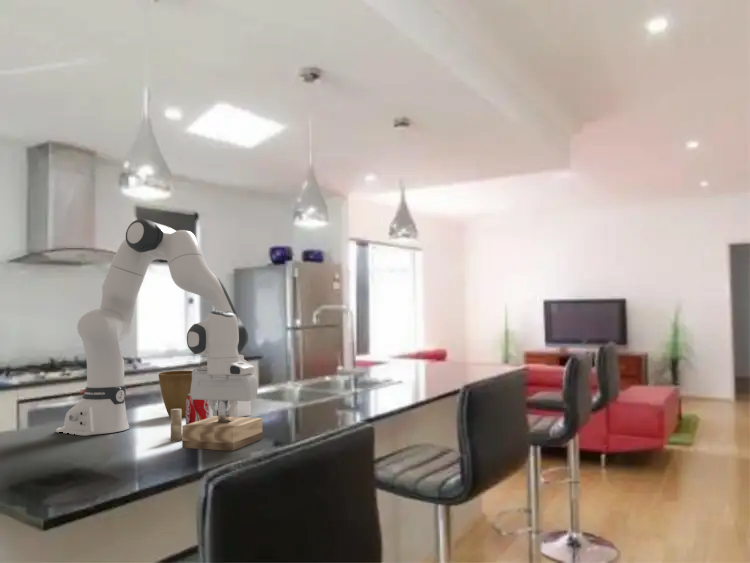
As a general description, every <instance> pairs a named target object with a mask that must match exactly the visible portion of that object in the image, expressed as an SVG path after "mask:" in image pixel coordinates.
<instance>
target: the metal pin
mask: <svg viewBox="0 0 750 563" xmlns="http://www.w3.org/2000/svg"><path fill="white" fill-rule="evenodd" d="M217 407H218V423H229V417H227V416H226V410H229V401H224V400H217Z"/></svg>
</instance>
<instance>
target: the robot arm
mask: <svg viewBox="0 0 750 563" xmlns="http://www.w3.org/2000/svg"><path fill="white" fill-rule="evenodd" d="M155 260H157V261H158V262H159V263H167V265H168V270H169V272H170V277H171V279H172V281H173V283H174V284H175V285H176V286H177V287H178V288H180V289H181V290H184V291H186V292H188V293H191V294H192V293H193V294H195V295H197V296H200V297H202V298H204V299H206V300H207V301H208V302H209V303H211V305H212V306H213V309H214V310H213V311H210V312H209V313H208V314H207V317H206V318H205V319H203V320H201V321H200V322H196V323H194V324H193V325H191V326H190V328H189V329H188V331H187V333H186V345H187V347H188V349H189V350H190V351H191V352H192V353H193V354H195V355H198V356H207V358H206V360H207V362H206V363H207V364H206V366H204V367H202V366H197V367H195V368H194V369H193V370H191V371H192V382H191V390H190V396H191V398H192V399H195V400H209V407H210V408H211V410H212V417H214V416H218V400H224V401H229V404H230V405H231V406H230V408H229V410H226V416H227V417H232V416H234V409H235V407H236V406H237V404H238V401H251V402H253V401H255V400H256V399H257V397H258V382H257V377H256V375H254V373H255V371H256V369H255V365H252V364H251V363H250V364H251V365H250V364H248V363H245V362H243V361H240V360H239V355H240V353H241V352H242V351H243V350H244V349H245V348H246V346H247V344H248V341H249V332H248V330H247V328H246V327H245V325H244V323H243V322H242V320H241V319H240V317H239V315H238V313H237V311H236V309H235V307H234V305H233V302H232V300H231V298H230V296H229V294H228V292H227V290H226V287H225V286H224V284H223V282H222V281H221V279H220V278H219V277H217V276H216V275H215V274H214V273H213V271H212V270H211V269H210V268H209V266H208V263H207V262H206V259H205V255H204V252H203V249H202V246H201V245H200V243H199V240H198V238H197V237H196V236H195V234H194V233H193V232H192V231H189V230H186V229H179V230H175V229H174V228H172V227H170V226H168V225H165V224H162V223H158V222H154V221H152V220H150V219H145V218H142V219H141V218H140V219H139V218H138V219H135V220H133V221H132V222H131V223H130V224H129V225H128V227H127V229H126V232H125V239H123V241H122V242H121V244H120V245H119V247H118V249H117V250H116V252H115V254H114V256H113V259H112V260H111V262H110V265H109V268H108V271H107V272H106V275H105V278H104V281H103V284H102V285H101V291H102V295H101V302H100V307H99V308H98V309H93V310H90V311H88V312H86V313H84V314H83V315H82V316H81V317H80V318H79V319H78V322H77V326H76V327H77V328H76V329H77V333H78V335H79V336H80V338H81V341H82V344H83V345H82V346H83V349H84V353H85V360H86V387H85V388H84V389H79V391H80V392H79V394H82V398H81V399H80V401H78V402H77V403H76V404H75V405H73V407H71V408H70V409H69V410H68V411H67V412H66V414H65V417H64V424H63V425H64V426H61V427H58V428H56V429H55V432H56V433H59V432H63V433H62V434H67V433H69V435H74V434H75V435H76V436H83V437H86V436H92V435H102V434H104V435H105V434H112V433H117V432H122V431H126V430H129V429H130V425H129V421H128V415H127V409H126V408H127V407H126V402H125V400H126V395H127V394H126V393H127V392H126V391H127V388H126V385H125V360H124V358H123V355H122V351H121V346H120V342H121V341H122V340H123V339H126V337H127V336H128V335H129V334H130V333H131V331H132V328H133V317H134V312H135V307H136V306H135V305H136V301H137V298H138V294H139V292H140V290H141V287H142V284H143V282H144V279H145V276H146V273H147V270H148V268H149V266H150V264H151V263H152V262H154V261H155Z"/></svg>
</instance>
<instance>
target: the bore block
mask: <svg viewBox="0 0 750 563" xmlns="http://www.w3.org/2000/svg"><path fill="white" fill-rule="evenodd" d="M263 435H264V434H263V417H250V416H243V417H229V423H218V416H211V417H209V418H207V419H204V420H200V421H197V422H193V423H190V424H187V425H186V424H182V440H181V442H182V443H181V446H182V447H181V448H183V449H196V450H210V451H211V450H214V451H226V452H227V451H229V452H233V451H236V450H238V449H239V450H240V448H244V447H246V446H248V445H251V444H253V443H254V444H255V442H257V441H258V442H259V441H260V440H262V439H263V438H264V437H263Z"/></svg>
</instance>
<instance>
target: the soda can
mask: <svg viewBox="0 0 750 563" xmlns="http://www.w3.org/2000/svg"><path fill="white" fill-rule="evenodd" d="M207 418H210V405H209V400H195V399H192V398H191V396H190V394H188V398H187V399H186V417H185V425H187V424H190V423H193V422H197V421H200V420H204V419H207Z"/></svg>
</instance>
